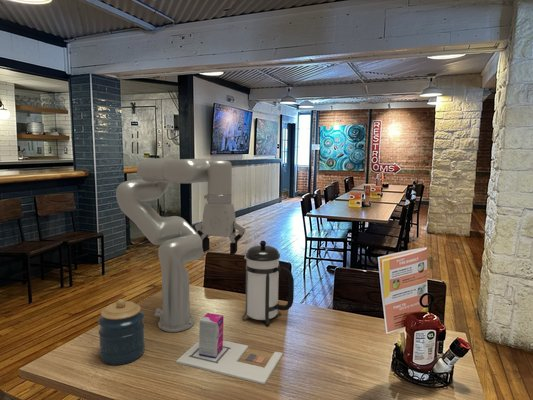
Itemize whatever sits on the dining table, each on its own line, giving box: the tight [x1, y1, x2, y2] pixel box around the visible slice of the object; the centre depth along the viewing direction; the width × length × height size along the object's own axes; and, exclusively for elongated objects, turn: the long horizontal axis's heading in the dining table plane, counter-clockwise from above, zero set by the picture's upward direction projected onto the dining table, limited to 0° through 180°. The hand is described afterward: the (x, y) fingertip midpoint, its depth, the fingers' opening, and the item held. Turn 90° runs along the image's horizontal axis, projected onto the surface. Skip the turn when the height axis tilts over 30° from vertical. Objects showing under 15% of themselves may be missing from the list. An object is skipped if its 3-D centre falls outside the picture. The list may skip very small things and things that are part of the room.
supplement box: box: [198, 312, 225, 358], centre depth 114 cm, size 6×6×12 cm
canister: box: [97, 298, 146, 366], centre depth 113 cm, size 13×13×18 cm
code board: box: [175, 339, 283, 386], centre depth 113 cm, size 28×16×1 cm, turn 70°
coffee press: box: [241, 240, 295, 327], centre depth 139 cm, size 17×16×30 cm
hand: (219, 252), depth 119 cm, fingers open, 9 cm apart
